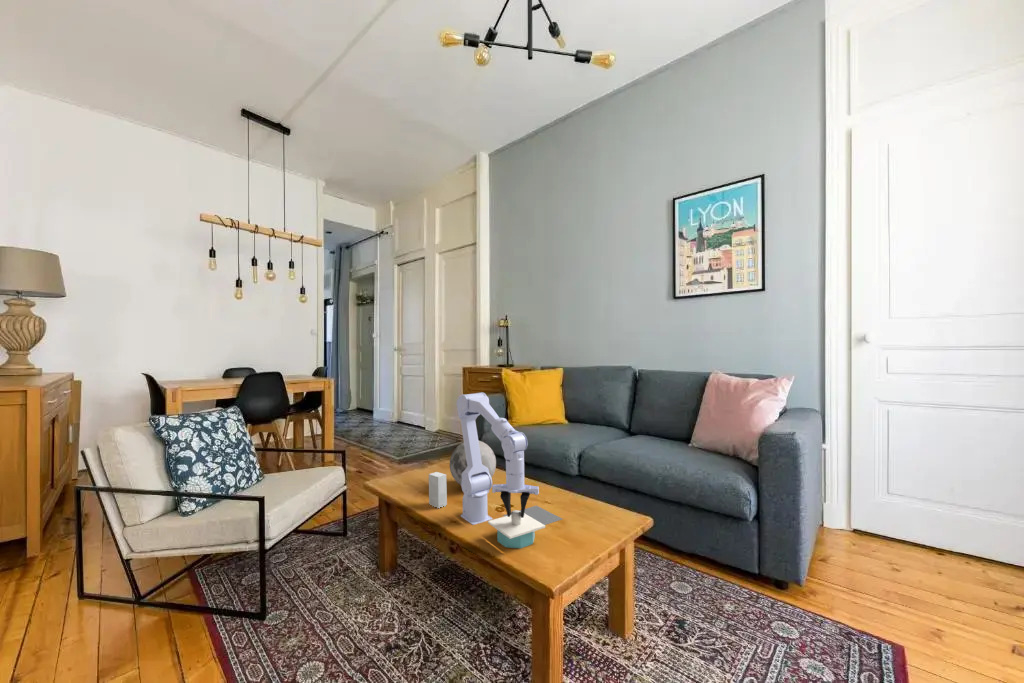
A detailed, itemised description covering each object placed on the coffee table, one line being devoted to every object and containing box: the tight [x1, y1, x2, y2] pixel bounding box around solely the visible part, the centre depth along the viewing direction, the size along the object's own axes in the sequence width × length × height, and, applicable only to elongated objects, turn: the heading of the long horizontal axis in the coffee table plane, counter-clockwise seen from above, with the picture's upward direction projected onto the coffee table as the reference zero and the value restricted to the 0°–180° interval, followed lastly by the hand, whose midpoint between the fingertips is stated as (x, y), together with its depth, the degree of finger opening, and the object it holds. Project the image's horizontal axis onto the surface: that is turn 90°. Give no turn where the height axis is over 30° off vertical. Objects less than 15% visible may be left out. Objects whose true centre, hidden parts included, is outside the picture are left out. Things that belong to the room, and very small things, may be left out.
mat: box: [502, 505, 563, 526], centre depth 145 cm, size 15×15×1 cm
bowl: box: [496, 529, 536, 549], centre depth 129 cm, size 11×11×4 cm
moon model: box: [449, 440, 497, 486], centre depth 178 cm, size 20×20×20 cm
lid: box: [487, 509, 546, 539], centre depth 129 cm, size 13×13×4 cm
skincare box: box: [428, 471, 448, 509], centre depth 158 cm, size 6×4×12 cm
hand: (515, 515), depth 129 cm, fingers open, 4 cm apart
